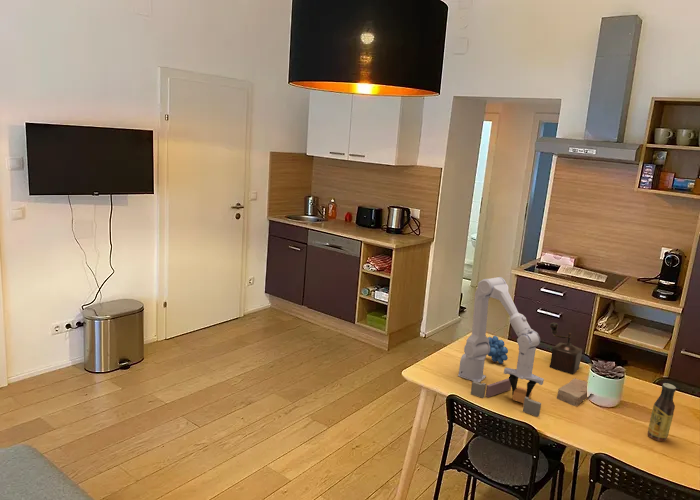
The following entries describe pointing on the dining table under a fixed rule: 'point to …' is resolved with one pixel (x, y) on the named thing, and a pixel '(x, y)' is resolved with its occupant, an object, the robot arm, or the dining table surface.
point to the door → (498, 387)
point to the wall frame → (529, 405)
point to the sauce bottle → (662, 414)
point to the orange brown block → (520, 394)
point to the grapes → (497, 350)
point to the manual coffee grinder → (565, 354)
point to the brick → (573, 392)
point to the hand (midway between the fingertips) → (520, 396)
